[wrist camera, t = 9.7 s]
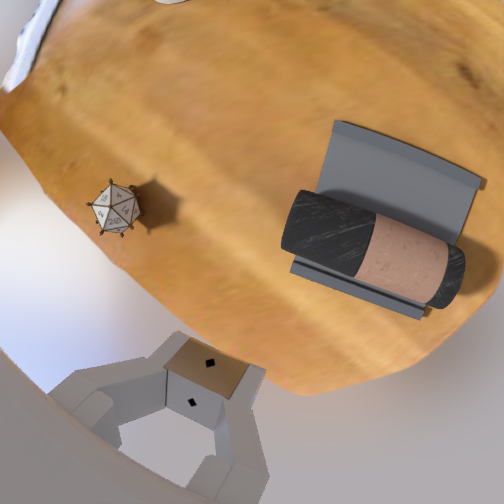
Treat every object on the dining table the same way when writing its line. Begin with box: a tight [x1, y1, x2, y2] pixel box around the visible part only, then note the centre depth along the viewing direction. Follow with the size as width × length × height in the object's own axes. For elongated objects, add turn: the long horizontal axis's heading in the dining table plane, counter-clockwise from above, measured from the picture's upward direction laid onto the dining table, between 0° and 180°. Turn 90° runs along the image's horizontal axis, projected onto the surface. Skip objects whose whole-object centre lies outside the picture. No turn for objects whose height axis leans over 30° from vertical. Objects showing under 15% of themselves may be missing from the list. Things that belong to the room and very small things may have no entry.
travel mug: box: [281, 190, 465, 309], centre depth 32 cm, size 8×8×20 cm
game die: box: [86, 178, 145, 238], centre depth 43 cm, size 9×8×10 cm
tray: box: [290, 120, 481, 321], centre depth 35 cm, size 20×19×1 cm
